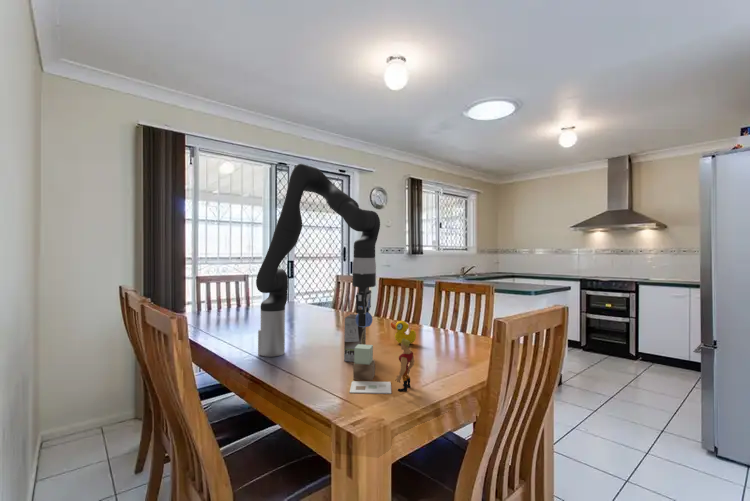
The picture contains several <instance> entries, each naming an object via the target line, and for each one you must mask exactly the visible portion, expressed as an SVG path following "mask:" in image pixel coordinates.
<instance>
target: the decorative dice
mask: <svg viewBox="0 0 750 501" xmlns="http://www.w3.org/2000/svg"><path fill="white" fill-rule="evenodd" d="M356 314H357V316H356V319H355V320H356V324H357V325H358V313H356ZM372 323H373V316H372V314H371V313H370V312H369V313H366V325H365V326H359V325H358V326H359V327H366V328H367V327H368V328H369V327H370V326H371V325H372Z"/></svg>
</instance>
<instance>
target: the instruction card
mask: <svg viewBox="0 0 750 501" xmlns="http://www.w3.org/2000/svg"><path fill="white" fill-rule="evenodd" d="M391 382H392V381H366V380H352V381H351V383H350V389H349V394H380V395H381V394H383V395H385V394H387V395H391V394H392V384H391Z"/></svg>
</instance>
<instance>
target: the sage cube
mask: <svg viewBox="0 0 750 501" xmlns="http://www.w3.org/2000/svg"><path fill="white" fill-rule="evenodd" d="M373 354H374V345H373V344H366V345H363V344H358V345H357V346H356V347H355V351H354V362H353V365H354V364H366V365H370V364H371V362H372V361H373V360H374V355H373Z"/></svg>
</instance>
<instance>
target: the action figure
mask: <svg viewBox="0 0 750 501" xmlns="http://www.w3.org/2000/svg"><path fill="white" fill-rule="evenodd" d="M410 344H411V343H410V341H408V340H406V339H405V338H404V339H402V343H401V344H400V348H401V350H403V352H402V353H401V354H400V355H399V356H398V361H399V362H400V371H399V374H397V375H396V379H395V381H396V383H400V384H401V383H402V382H403V384H402V386H403V387H402V388H398V389H397V391H398V392H407V391H408V389H410V388H411V377H410V372H411V369H412V368H413V366H414V365H415V357H414V351H412V350H411V349H410V348H409V347H410ZM401 380H402V382H401Z"/></svg>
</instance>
